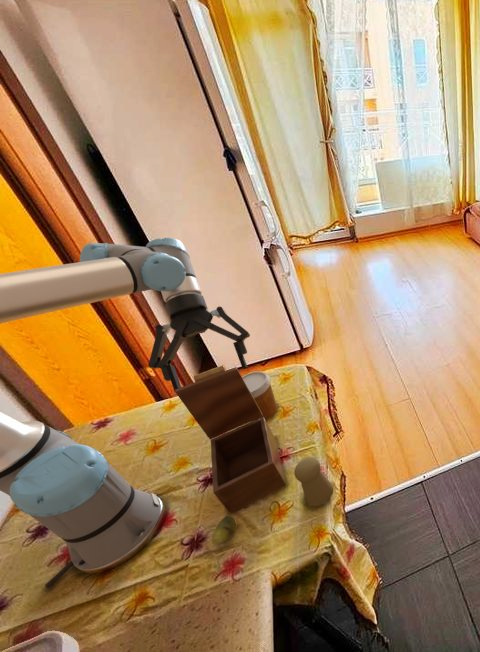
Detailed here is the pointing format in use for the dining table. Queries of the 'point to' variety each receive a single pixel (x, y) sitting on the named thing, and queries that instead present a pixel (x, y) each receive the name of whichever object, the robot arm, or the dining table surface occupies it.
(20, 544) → the dining table surface
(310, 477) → the tan rounded upright piece
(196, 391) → the lid
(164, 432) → the dining table surface
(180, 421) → the dining table surface
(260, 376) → the disposable coffee cup
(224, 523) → the lime
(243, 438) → the box
